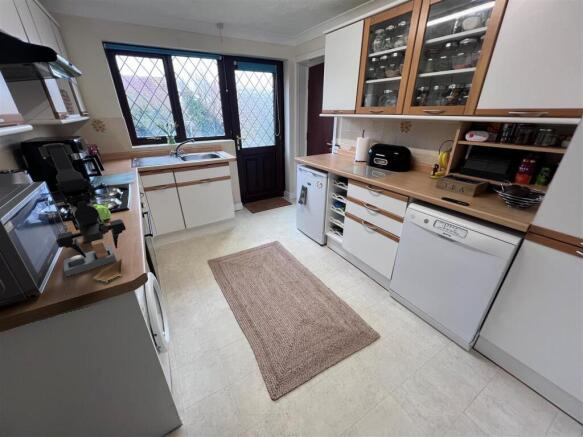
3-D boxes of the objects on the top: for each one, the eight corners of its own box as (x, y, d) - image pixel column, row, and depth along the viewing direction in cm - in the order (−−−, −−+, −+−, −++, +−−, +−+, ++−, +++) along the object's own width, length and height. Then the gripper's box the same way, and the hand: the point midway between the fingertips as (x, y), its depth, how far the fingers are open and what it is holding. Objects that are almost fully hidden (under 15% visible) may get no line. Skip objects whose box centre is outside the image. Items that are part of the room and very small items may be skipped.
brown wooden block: (99, 260, 89) (91, 241, 85) (109, 257, 91) (101, 239, 87) (100, 263, 87) (92, 245, 83) (110, 260, 89) (102, 242, 85)
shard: (122, 262, 89) (121, 258, 88) (139, 265, 87) (137, 261, 86) (93, 280, 79) (91, 276, 78) (111, 284, 77) (109, 280, 76)
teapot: (116, 220, 120) (110, 204, 117) (87, 227, 113) (80, 211, 110) (112, 213, 128) (106, 199, 124) (85, 220, 121) (78, 205, 117)
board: (67, 265, 86) (60, 252, 84) (113, 250, 95) (108, 238, 92) (67, 277, 80) (60, 263, 78) (116, 260, 88) (111, 248, 86)
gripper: (46, 231, 69) (68, 273, 76) (121, 213, 81) (135, 252, 87) (48, 219, 77) (68, 258, 84) (116, 204, 88) (129, 240, 95)
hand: (101, 252), depth 87 cm, fingers open, 9 cm apart
